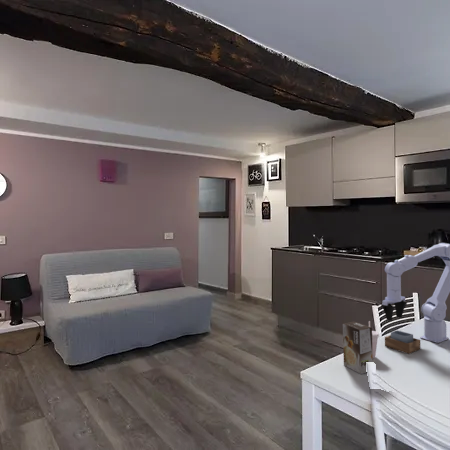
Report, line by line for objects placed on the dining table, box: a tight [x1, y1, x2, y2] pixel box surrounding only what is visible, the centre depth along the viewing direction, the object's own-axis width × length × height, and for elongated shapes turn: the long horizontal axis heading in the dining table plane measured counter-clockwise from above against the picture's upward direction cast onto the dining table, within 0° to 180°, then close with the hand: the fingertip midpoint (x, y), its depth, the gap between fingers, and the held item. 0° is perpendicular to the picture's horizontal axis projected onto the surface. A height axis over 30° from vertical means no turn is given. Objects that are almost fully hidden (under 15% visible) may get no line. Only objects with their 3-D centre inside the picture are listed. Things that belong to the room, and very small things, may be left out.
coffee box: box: [342, 321, 374, 375], centre depth 131 cm, size 9×6×16 cm
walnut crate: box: [384, 334, 421, 355], centre depth 149 cm, size 9×11×4 cm
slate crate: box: [390, 329, 414, 343], centre depth 149 cm, size 5×7×6 cm
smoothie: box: [368, 320, 380, 359], centre depth 141 cm, size 6×6×14 cm
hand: (394, 318), depth 160 cm, fingers open, 7 cm apart
